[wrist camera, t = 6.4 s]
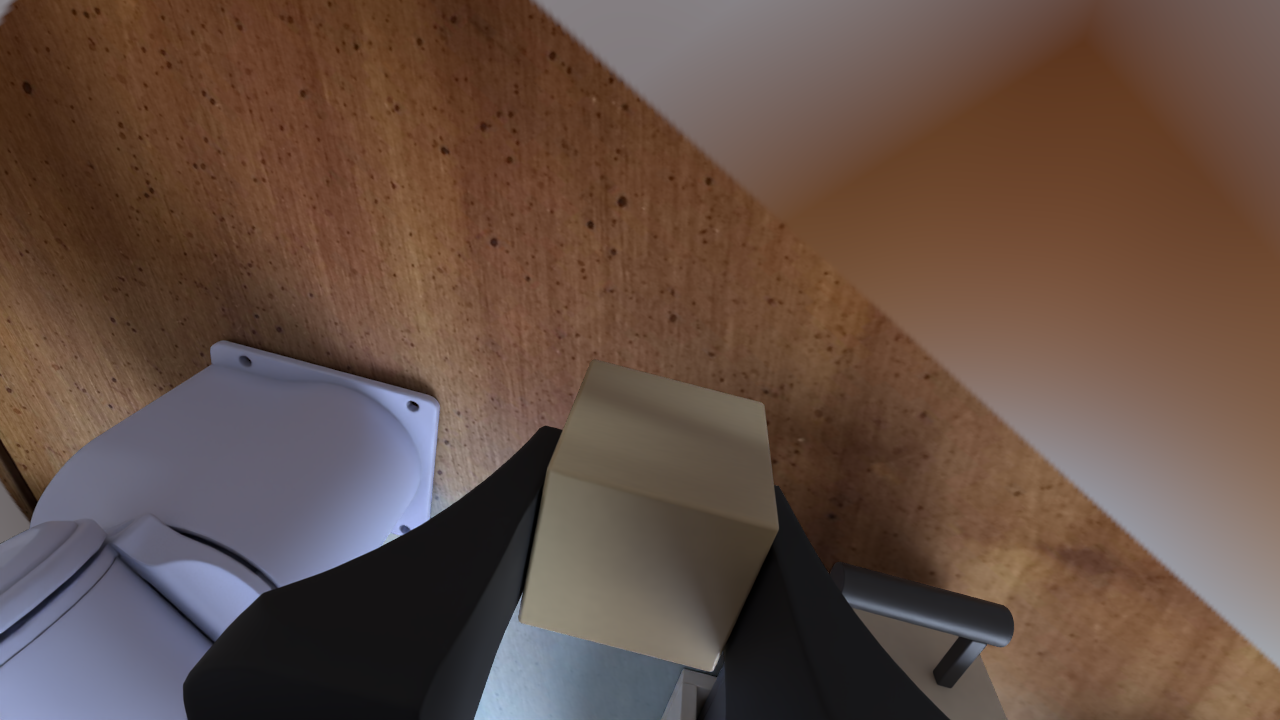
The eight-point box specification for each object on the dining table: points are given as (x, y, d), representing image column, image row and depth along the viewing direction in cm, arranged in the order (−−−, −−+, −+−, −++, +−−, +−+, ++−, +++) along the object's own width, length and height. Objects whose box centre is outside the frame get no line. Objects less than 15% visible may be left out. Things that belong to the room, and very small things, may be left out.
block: (563, 491, 15) (515, 624, 12) (591, 356, 13) (546, 468, 10) (715, 530, 15) (713, 674, 12) (765, 401, 13) (781, 528, 10)
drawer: (785, 488, 24) (805, 622, 18) (1014, 549, 24) (1103, 702, 18) (681, 713, 31) (672, 857, 26) (856, 759, 31) (885, 913, 26)
